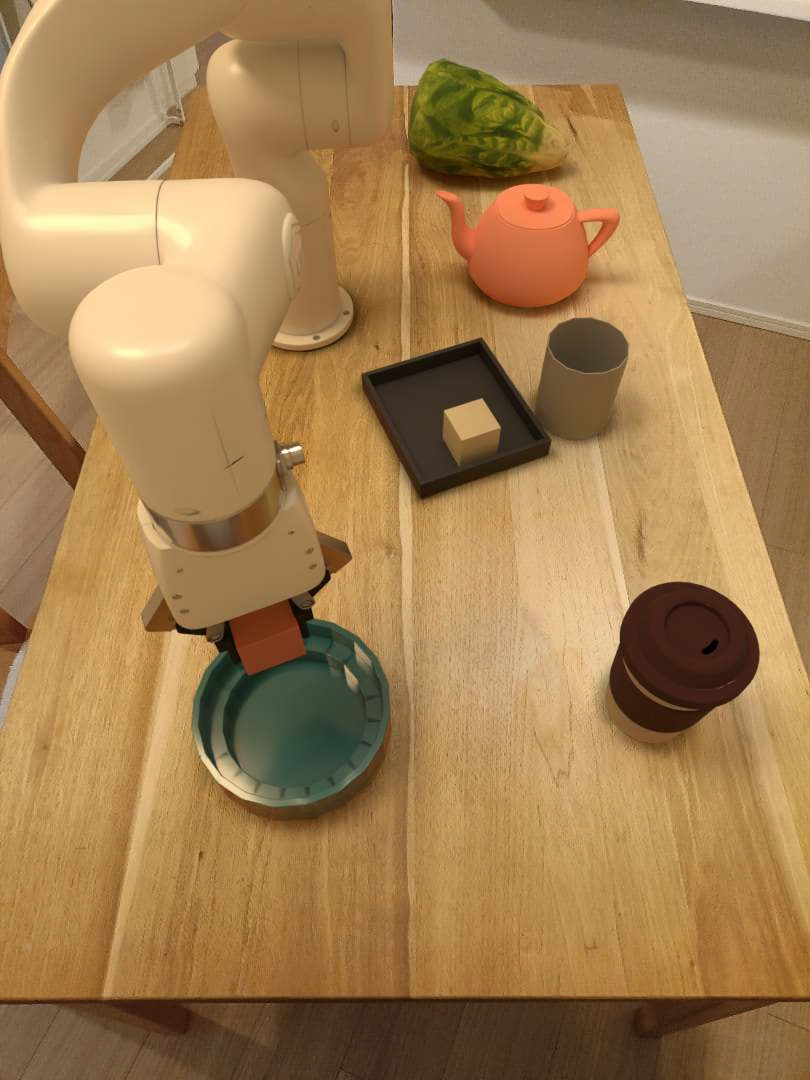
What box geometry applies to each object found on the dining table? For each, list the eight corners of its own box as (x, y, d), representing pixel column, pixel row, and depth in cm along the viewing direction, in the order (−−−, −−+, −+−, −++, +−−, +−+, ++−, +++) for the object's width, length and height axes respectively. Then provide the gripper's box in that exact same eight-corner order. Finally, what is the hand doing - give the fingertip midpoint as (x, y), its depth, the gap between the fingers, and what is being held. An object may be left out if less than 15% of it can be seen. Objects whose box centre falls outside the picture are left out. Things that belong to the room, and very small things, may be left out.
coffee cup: (578, 657, 70) (614, 575, 58) (684, 648, 71) (743, 565, 58) (602, 764, 65) (648, 700, 53) (717, 754, 66) (789, 688, 53)
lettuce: (549, 224, 113) (584, 147, 101) (394, 182, 110) (410, 98, 98) (557, 157, 118) (590, 77, 106) (409, 116, 116) (427, 30, 104)
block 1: (232, 625, 59) (219, 596, 55) (288, 605, 60) (279, 575, 56) (248, 676, 56) (236, 650, 53) (306, 654, 57) (299, 627, 54)
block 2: (442, 438, 84) (443, 410, 81) (479, 426, 85) (482, 397, 81) (459, 468, 82) (461, 440, 78) (497, 455, 83) (501, 427, 79)
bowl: (186, 679, 70) (171, 656, 66) (353, 617, 73) (349, 592, 69) (234, 854, 62) (221, 840, 57) (420, 775, 65) (420, 757, 61)
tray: (362, 388, 89) (360, 373, 87) (480, 352, 92) (482, 336, 90) (420, 499, 80) (420, 485, 78) (548, 455, 83) (552, 440, 81)
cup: (606, 445, 84) (627, 379, 76) (531, 434, 85) (543, 368, 77) (610, 389, 89) (630, 322, 80) (539, 380, 90) (552, 312, 81)
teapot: (430, 314, 96) (432, 227, 86) (436, 239, 104) (438, 151, 94) (608, 321, 95) (631, 233, 85) (599, 244, 103) (620, 156, 93)
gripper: (335, 395, 46) (355, 558, 61) (46, 483, 42) (144, 632, 58) (381, 488, 42) (390, 636, 57) (68, 593, 38) (166, 721, 54)
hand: (266, 633), depth 57 cm, fingers closed on block 1, 4 cm apart
